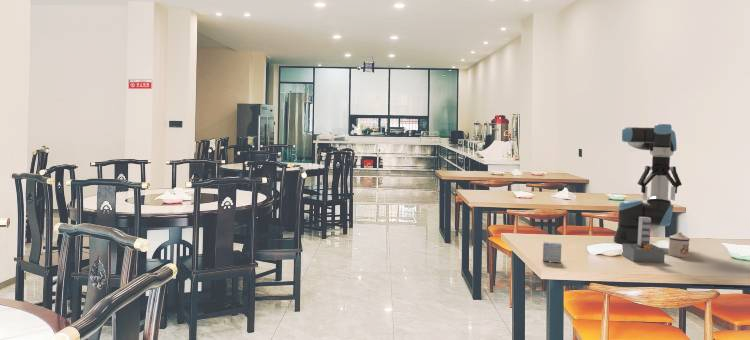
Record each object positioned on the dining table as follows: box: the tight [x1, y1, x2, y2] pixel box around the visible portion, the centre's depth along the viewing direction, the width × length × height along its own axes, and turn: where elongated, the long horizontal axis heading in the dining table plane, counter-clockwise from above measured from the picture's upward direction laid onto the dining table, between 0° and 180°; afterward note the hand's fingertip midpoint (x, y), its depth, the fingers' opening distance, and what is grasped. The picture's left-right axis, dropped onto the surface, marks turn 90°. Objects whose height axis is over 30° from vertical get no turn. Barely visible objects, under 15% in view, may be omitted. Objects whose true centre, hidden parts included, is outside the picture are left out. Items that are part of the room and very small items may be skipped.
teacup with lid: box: [668, 231, 690, 258], centre depth 291 cm, size 12×9×12 cm
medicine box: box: [542, 241, 562, 264], centre depth 269 cm, size 8×4×9 cm, turn 71°
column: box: [637, 217, 652, 248], centre depth 279 cm, size 5×4×20 cm
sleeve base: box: [621, 243, 666, 264], centre depth 280 cm, size 14×14×8 cm
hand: (658, 200), depth 284 cm, fingers open, 13 cm apart
